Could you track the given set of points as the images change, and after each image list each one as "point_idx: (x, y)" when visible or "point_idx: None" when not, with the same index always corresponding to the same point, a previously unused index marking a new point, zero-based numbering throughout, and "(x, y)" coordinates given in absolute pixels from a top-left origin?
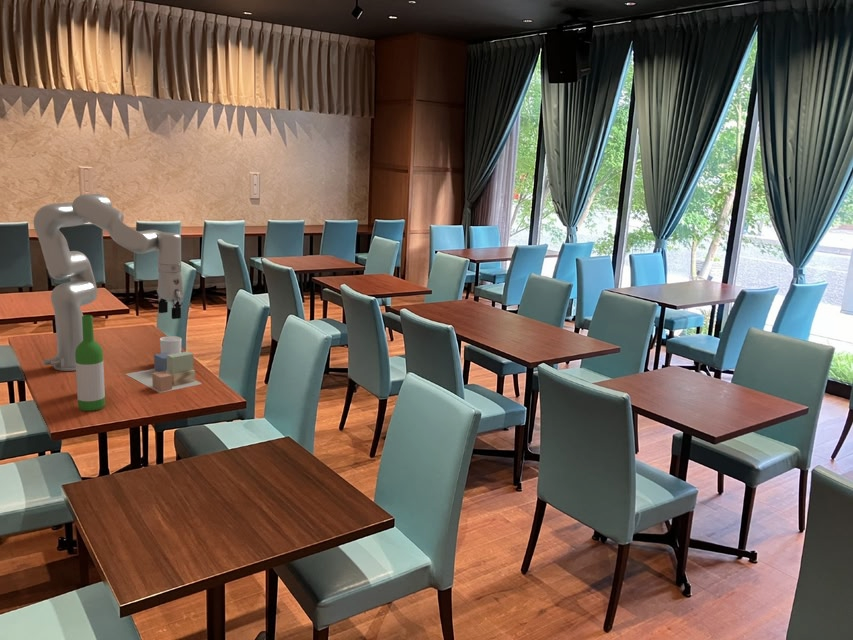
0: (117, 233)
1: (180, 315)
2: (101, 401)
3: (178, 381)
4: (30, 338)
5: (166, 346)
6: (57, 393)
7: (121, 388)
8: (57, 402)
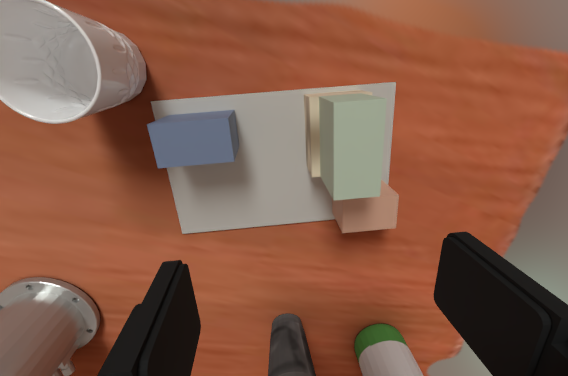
0: None
1: (480, 246)
2: (406, 344)
3: None
4: None
5: (104, 104)
6: (255, 365)
7: (294, 270)
8: None
